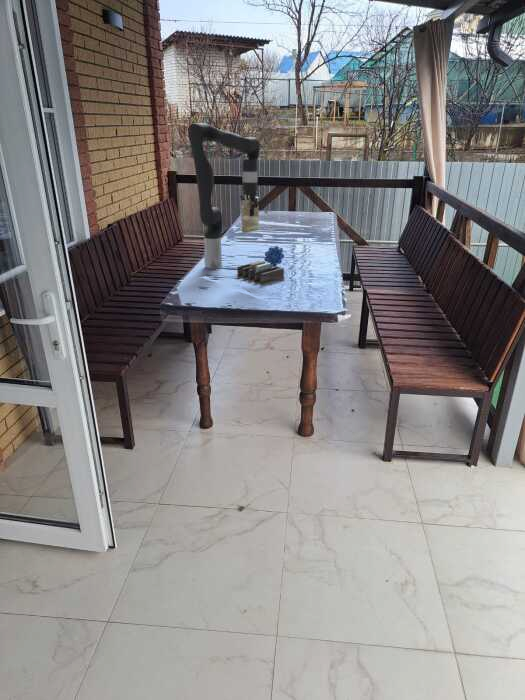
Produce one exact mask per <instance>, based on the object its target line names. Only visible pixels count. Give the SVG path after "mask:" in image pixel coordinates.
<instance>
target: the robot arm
mask: <svg viewBox="0 0 525 700" xmlns="http://www.w3.org/2000/svg"><path fill="white" fill-rule="evenodd" d="M187 133H188V139H189V143H190V147H191V152H192V158H193V163H194V168H195V176H196V177H195V178H196V184H197V185H196V186H197V191H198V199H199V200H198V202H199V216H200V221H201V223H202V224H203V225H204V226H206V227H207V228H206V230H205V231H204V233H203V234H204V235H203V236H204V237H203V238H204V251H203V254H204V257H203V258H204V267H205V268H206V269H207V270H219V269H221V268H222V267H223V260H222V259H223V256H222V253H223V252H222V232H223V215H222V211H221V209H220V208H219V207H217V206H213V203H212V193H213V190H214V186H215V176H214V175H215V174H214V169H213V166H212V163H211V162H210V161H209V159H208V158H207V155H206V153H205V149H204V143H205V142H215V143H217V144H220V145H221V146H223V147H226V148H228V149H232V150H233V149H234V150H235V151H238V152H240V153H242V154H243V153H244V154H246V157H245V158H244V159H243V161H242V191H243V193H242V195H241V194H240V195H239V197H240V199H241V200H240V201H242V200H249V204H250V216H251V217H252V216H254V209H255V208H257V206H258V204H260V201H261V198H260V197H258V195H257V194H258V193H257V191H258V160H259V154H260V150H261V147H260V146H261V144H260V141H259V140H258V138H257V137H254V136H252V137H244V136H242V135H240V134H238V133H236V132H230V131H225V130H223V129H218V128H216V127H214V126H212V125H210V124H209V123H205V122H193V123H191V124H190V125H189V126H188V130H187ZM252 204H253V206H252Z"/></svg>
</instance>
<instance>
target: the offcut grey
mask: <svg viewBox="0 0 525 700" xmlns="http://www.w3.org/2000/svg"><path fill="white" fill-rule="evenodd" d="M268 268H271V263H267V262H265V264H261V265H257V266H256V272H257V271H261V270H264V269H268Z"/></svg>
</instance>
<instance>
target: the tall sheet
mask: <svg viewBox="0 0 525 700" xmlns="http://www.w3.org/2000/svg"><path fill="white" fill-rule="evenodd" d="M240 201H241V233H243V234H245V233H251V232H256V231H259V228H260V227H259V226H260V225H259V224H260V223H259V221H260V219H259V218H260V217H259V215H260V213H259V204H260V203H259V204H258V206H257V208H255V209H254V216H252V217H251V216H250V204H249V200H240ZM252 206H253V204H252Z"/></svg>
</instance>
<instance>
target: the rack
mask: <svg viewBox="0 0 525 700" xmlns="http://www.w3.org/2000/svg"><path fill="white" fill-rule="evenodd" d="M260 261H261V260H260ZM260 261H259V260H258V261H255V262H250V263H247V264H242V265H240V266H237V267H236V268H237V269H236V273H237V274H236V275H234V277H236V278H240V279H242V280H245V281H249V282H252V283H254V284H258V285H260V286H265V285H268V284H271V283H275V282H278V281H282V280H285V279H287V277H286V276H285V268H284V267H281V268H279V266H278V265H277V266H273V265H271V268H268V269H264V270H261V271H257V272H256V269H252V270H250V264H252V263H256V262H260Z"/></svg>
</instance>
